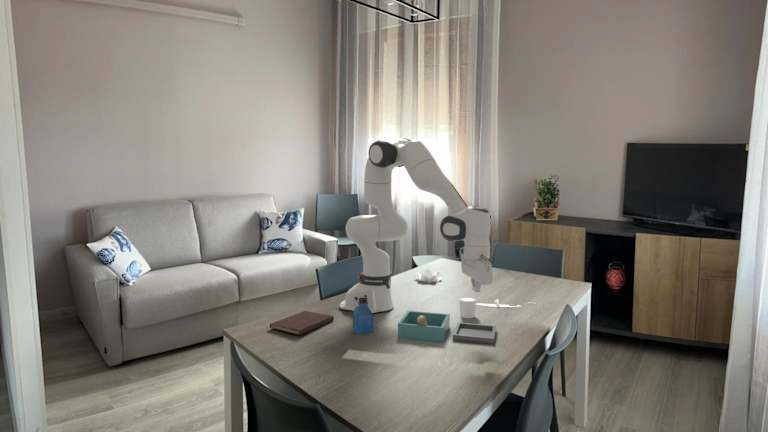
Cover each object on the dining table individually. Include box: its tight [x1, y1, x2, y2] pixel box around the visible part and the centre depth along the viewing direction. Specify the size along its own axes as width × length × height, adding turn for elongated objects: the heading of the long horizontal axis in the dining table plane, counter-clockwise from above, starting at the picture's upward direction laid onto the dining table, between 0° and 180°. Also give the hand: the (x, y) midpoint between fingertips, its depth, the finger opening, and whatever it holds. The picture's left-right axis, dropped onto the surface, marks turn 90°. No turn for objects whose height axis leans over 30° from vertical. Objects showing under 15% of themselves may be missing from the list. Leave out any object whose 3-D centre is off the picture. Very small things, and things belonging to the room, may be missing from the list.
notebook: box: [269, 310, 335, 336], centre depth 196 cm, size 15×20×2 cm
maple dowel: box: [417, 315, 428, 326], centre depth 183 cm, size 3×3×9 cm
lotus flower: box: [414, 266, 443, 284], centre depth 254 cm, size 14×15×9 cm
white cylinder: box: [458, 296, 478, 319], centre depth 205 cm, size 7×7×7 cm
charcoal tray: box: [452, 322, 497, 345], centre depth 183 cm, size 14×14×2 cm
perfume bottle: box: [352, 298, 374, 335], centre depth 187 cm, size 6×6×12 cm
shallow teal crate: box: [397, 310, 451, 343], centre depth 186 cm, size 16×16×5 cm
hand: (476, 291), depth 181 cm, fingers closed
